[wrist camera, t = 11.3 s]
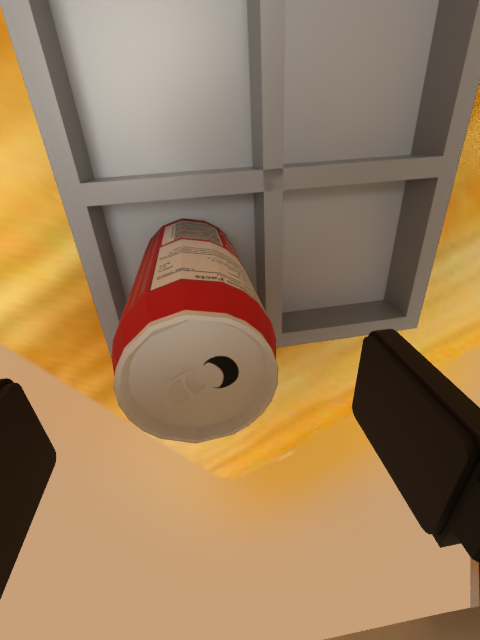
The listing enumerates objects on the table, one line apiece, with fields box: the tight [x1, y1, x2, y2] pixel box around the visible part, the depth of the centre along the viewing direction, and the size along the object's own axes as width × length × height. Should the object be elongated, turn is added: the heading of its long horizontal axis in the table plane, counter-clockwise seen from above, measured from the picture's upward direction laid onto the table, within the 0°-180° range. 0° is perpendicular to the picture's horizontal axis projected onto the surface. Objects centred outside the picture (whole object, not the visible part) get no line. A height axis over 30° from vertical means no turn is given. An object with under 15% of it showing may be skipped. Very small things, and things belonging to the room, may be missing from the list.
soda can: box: [112, 218, 278, 443], centre depth 14 cm, size 6×6×12 cm
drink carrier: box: [0, 0, 480, 358], centre depth 17 cm, size 20×20×4 cm
